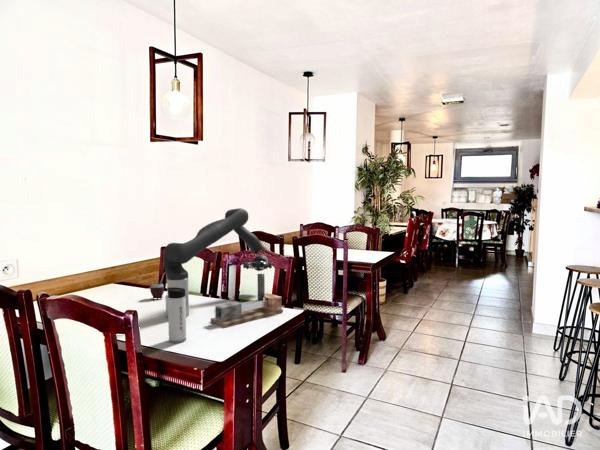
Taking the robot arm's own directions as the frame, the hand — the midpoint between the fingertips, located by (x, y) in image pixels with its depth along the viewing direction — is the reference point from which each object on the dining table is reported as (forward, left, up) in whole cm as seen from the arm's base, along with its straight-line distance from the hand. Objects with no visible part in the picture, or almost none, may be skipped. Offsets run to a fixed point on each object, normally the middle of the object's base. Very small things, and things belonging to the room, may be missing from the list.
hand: (255, 267), depth 197 cm
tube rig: (-13, -11, -20) cm, 26 cm away
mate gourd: (-27, +51, -20) cm, 61 cm away
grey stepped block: (-11, -11, -16) cm, 23 cm away
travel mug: (-51, -17, -20) cm, 57 cm away
